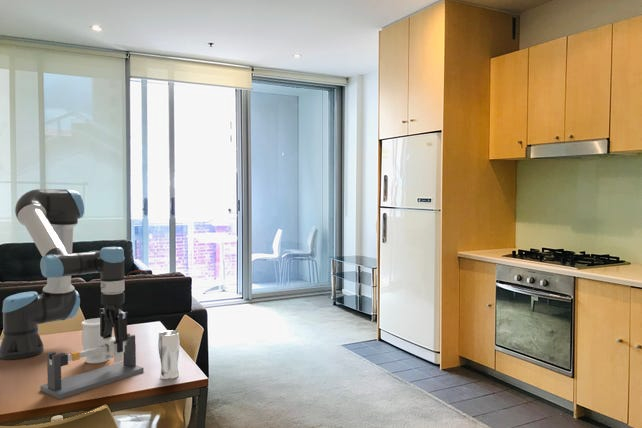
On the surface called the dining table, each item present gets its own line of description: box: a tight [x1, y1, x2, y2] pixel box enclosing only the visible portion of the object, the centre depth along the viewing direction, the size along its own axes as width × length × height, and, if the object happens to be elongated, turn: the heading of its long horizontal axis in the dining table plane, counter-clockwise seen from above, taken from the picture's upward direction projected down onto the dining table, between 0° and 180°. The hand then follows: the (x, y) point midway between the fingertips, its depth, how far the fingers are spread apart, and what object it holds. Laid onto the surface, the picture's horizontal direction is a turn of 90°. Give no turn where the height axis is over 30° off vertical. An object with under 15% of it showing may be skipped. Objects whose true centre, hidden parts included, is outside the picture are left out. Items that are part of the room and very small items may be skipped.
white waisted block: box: [157, 329, 181, 381], centre depth 168 cm, size 7×7×15 cm
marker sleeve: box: [103, 335, 125, 357], centre depth 170 cm, size 5×5×5 cm
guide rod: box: [49, 339, 128, 367], centre depth 164 cm, size 3×28×3 cm, turn 144°
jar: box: [81, 317, 111, 365], centre depth 185 cm, size 11×10×15 cm
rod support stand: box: [39, 332, 145, 400], centre depth 164 cm, size 12×29×12 cm, turn 144°
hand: (113, 359), depth 170 cm, fingers closed on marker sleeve, 5 cm apart
